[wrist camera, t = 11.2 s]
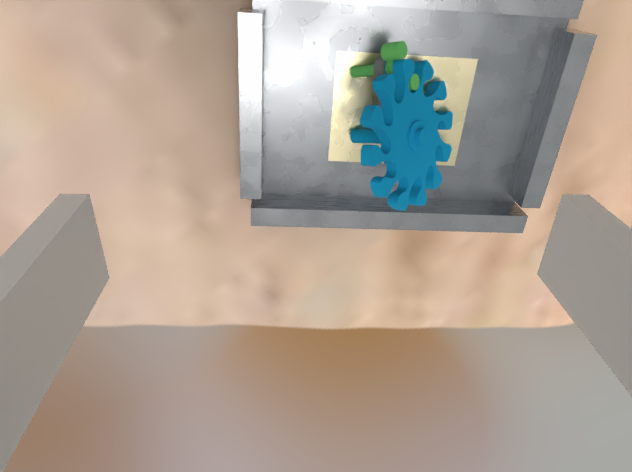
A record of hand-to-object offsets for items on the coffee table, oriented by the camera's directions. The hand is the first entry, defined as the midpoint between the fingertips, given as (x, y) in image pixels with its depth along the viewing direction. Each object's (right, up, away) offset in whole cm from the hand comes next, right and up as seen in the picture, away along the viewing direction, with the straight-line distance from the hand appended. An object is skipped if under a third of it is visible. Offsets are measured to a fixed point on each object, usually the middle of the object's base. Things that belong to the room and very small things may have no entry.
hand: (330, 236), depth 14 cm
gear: (+6, +9, +22) cm, 24 cm away
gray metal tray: (+6, +10, +23) cm, 26 cm away
